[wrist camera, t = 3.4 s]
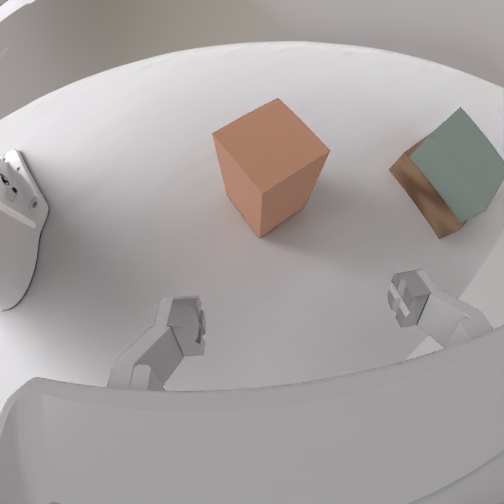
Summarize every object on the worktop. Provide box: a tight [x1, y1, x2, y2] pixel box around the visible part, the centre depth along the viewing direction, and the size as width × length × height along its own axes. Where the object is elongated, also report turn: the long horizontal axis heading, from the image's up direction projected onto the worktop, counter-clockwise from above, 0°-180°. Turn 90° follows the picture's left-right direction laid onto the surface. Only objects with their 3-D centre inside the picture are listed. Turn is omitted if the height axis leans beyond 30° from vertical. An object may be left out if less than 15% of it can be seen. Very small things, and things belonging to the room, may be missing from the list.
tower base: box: [389, 134, 467, 239], centre depth 24 cm, size 9×9×4 cm
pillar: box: [212, 98, 330, 238], centre depth 21 cm, size 5×5×10 cm
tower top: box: [409, 107, 504, 223], centre depth 20 cm, size 8×8×4 cm
